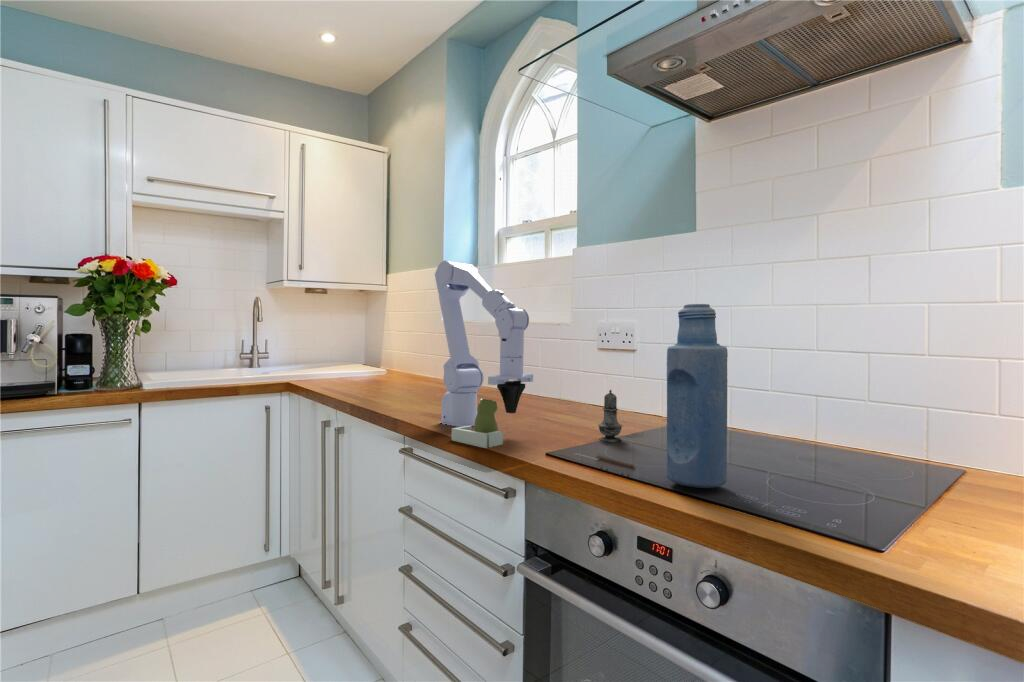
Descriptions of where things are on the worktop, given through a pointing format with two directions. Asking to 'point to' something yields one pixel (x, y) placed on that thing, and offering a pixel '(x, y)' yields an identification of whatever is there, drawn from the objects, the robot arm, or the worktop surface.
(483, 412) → the pear
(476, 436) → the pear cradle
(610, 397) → the salt shaker
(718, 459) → the bottle
